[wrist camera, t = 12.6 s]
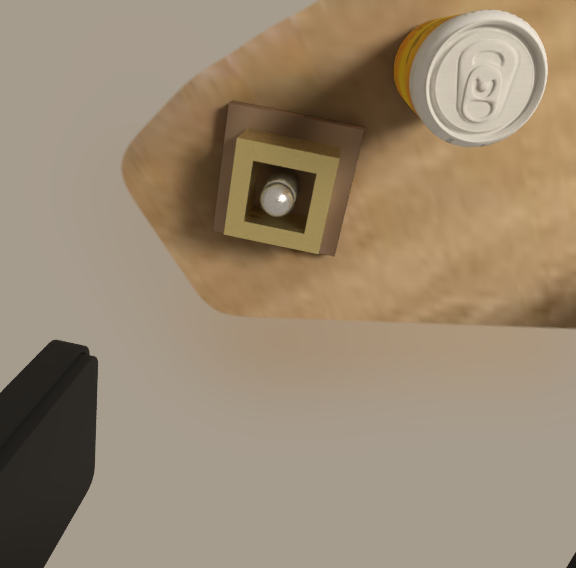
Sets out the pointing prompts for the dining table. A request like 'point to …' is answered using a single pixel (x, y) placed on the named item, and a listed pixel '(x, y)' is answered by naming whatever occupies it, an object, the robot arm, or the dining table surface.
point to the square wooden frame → (285, 153)
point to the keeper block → (285, 181)
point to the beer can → (472, 75)
